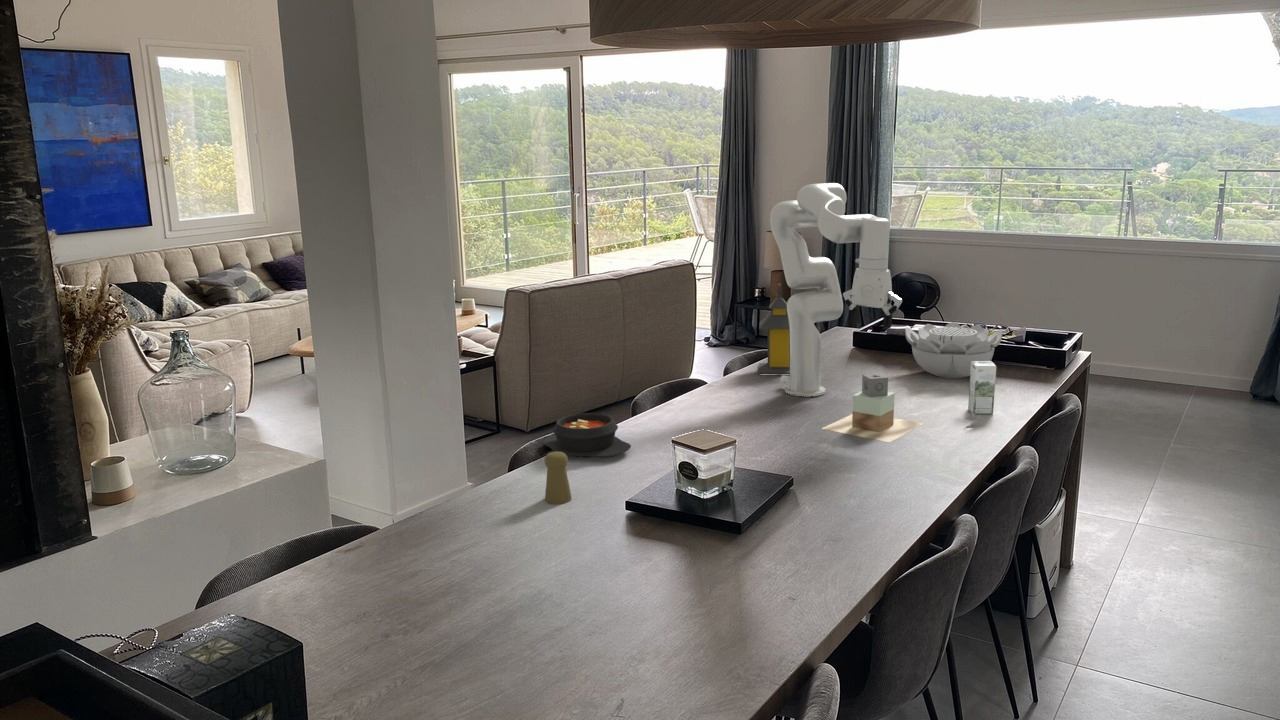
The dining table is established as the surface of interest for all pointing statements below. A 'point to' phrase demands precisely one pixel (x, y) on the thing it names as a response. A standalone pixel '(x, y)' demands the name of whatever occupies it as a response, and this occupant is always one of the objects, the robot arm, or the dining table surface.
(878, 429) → the walnut block
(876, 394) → the dice cube
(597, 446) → the casserole
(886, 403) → the sage block
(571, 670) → the dining table surface
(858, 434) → the oak board
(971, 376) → the syrup box
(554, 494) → the olive peg figure
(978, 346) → the decorative bowl
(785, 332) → the lantern
